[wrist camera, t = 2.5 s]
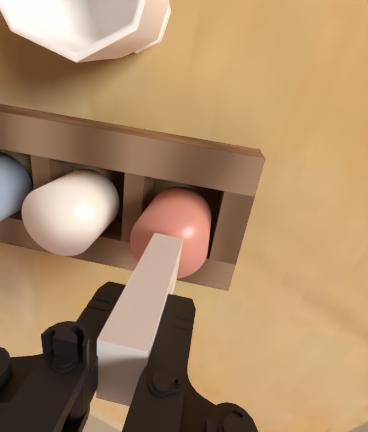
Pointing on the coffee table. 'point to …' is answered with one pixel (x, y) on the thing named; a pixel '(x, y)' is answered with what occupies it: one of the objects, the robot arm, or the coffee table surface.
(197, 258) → the pink egg
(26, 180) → the blue egg
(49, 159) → the brown compartment tray
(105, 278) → the coffee table surface
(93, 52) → the cup
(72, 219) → the cream rounded knob
